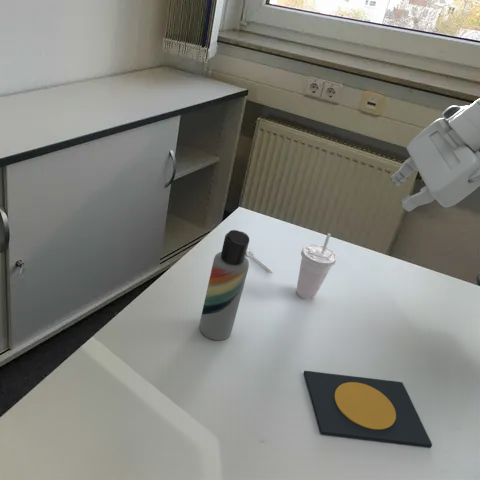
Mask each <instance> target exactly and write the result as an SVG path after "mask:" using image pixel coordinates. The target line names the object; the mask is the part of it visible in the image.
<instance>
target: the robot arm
mask: <svg viewBox="0 0 480 480" xmlns="http://www.w3.org/2000/svg"><path fill="white" fill-rule="evenodd" d="M406 151H407V152H408V154H409V157H408V158H407V159H405V160H404V161H403V163H402V164H401V166H400V167H399V168H398V169H397V171H395V172H394V173H393V174H392V175H390V180H391V183H392V184H394V185H395V186H396V187H400V186H402V185H403V184H404V183H406V182H407V178H409V177H410V176H411V174H412V173H414V172H417V171H418V173H419V175H420V177H421V179H422V181H423V182H424V184H425V185H424V186H423V187H422V188H420V189H419V192H416V193H414V194H412V195H410V194H407V195H406V196H405V197H404V198H402V199H400V204H401V207H402V208H403V209H404V210H405V211H406V212H412V211H414V209H416V208H418V207H420V206H423V205H428V204H431V203H432V202H434V201H436V202H437V203H438V204H440V205H441V206H442V207H443V208H450V207H454V206H455V205H457V204H458V203H460V202H461V201H463V200H464V199H465V198H467V197H468V196H469V195H471V194H472V193H473V192H474V191H476V190H477V189H478V188H479V187H480V98H478V99H476V100H475V101H474V102H473V103H471V104H470V105H451V106H449V107H447V108H446V109H445V110H444V111H443V112H442V113H441V117H440V118H437V119H436V120H434V121H433V122H431V123H430V124H429V125H428V126H427V127H425V128H424V129H423V130H421V131H420V132H419V133H418V134H417V135H416V136H415V137H414V138H413V139H411V140H410V141H409V143H408V144H407V145H406Z"/></svg>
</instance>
